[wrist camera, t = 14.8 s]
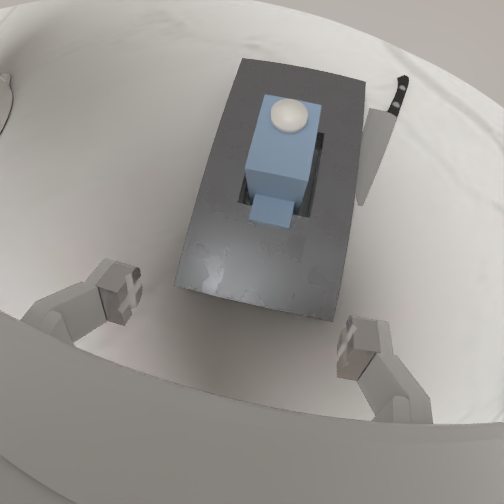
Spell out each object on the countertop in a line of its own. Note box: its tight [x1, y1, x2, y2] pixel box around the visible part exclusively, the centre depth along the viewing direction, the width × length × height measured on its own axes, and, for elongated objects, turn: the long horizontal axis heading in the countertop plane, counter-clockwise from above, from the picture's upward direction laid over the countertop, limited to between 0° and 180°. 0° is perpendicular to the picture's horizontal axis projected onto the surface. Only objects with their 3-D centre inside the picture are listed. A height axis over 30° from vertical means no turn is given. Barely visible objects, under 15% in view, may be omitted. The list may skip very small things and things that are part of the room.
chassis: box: [174, 58, 366, 322], centre depth 26 cm, size 12×22×3 cm, turn 167°
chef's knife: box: [355, 75, 409, 206], centre depth 28 cm, size 19×1×3 cm
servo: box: [245, 94, 322, 230], centre depth 23 cm, size 4×10×9 cm, turn 167°
